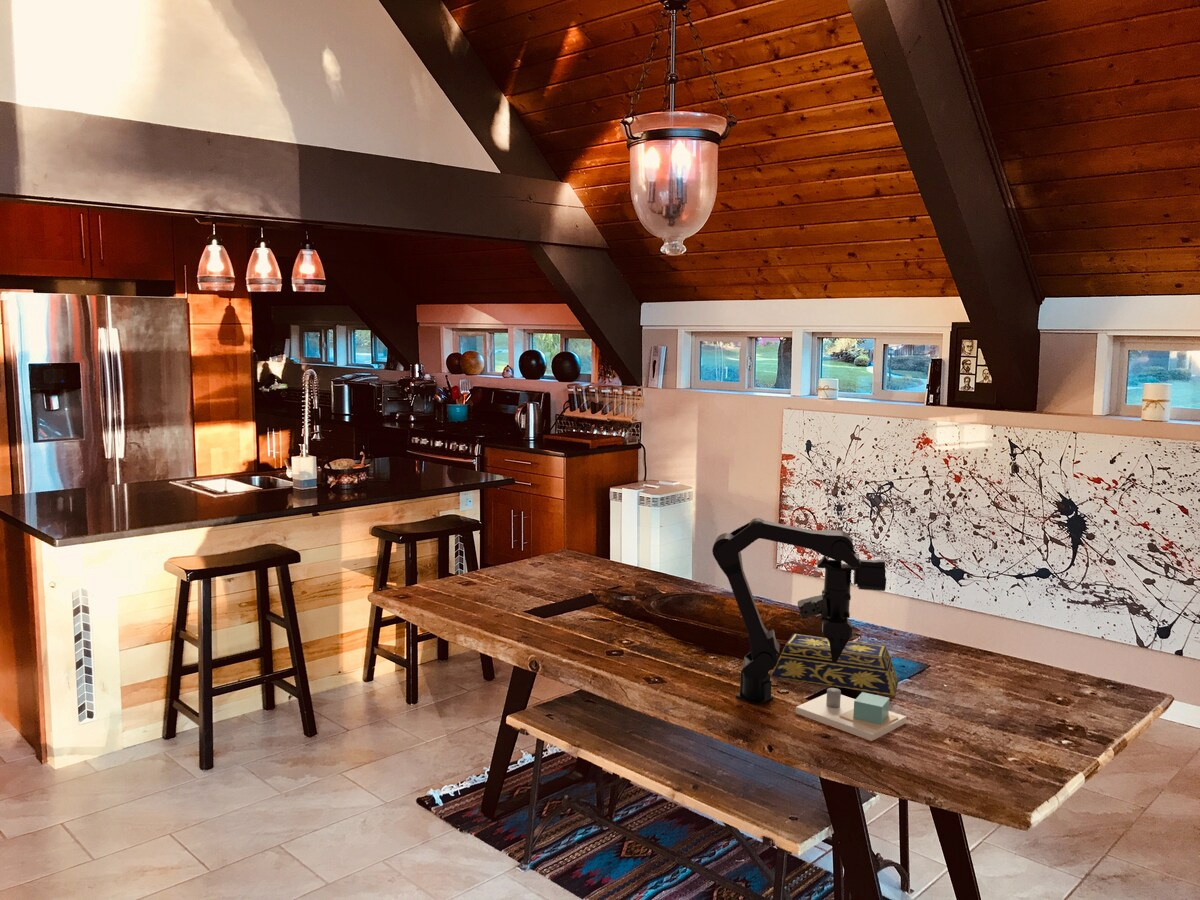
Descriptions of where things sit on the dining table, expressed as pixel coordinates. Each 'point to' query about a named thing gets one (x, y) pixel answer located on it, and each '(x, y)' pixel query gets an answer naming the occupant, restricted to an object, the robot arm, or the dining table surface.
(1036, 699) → the dining table surface
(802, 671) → the decorative box
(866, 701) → the mint green cube
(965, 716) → the dining table surface
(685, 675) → the dining table surface
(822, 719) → the board
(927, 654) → the dining table surface
